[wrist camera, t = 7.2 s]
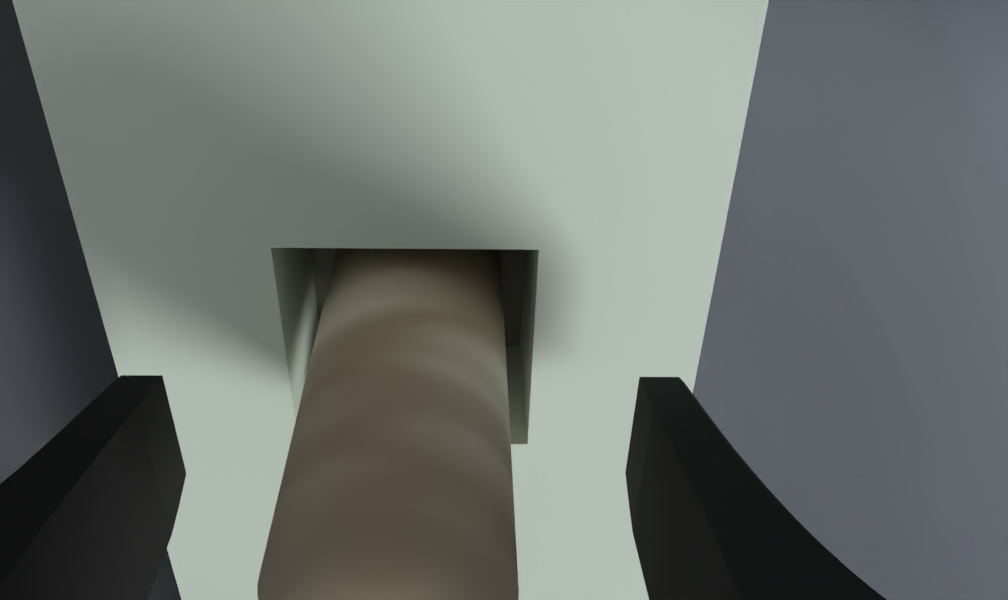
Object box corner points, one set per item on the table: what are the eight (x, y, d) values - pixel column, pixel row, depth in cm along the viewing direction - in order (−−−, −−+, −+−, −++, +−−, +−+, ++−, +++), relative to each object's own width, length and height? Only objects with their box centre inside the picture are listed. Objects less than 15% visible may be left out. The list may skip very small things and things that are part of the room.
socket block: (720, -123, 14) (783, -76, 11) (627, 489, 22) (650, 608, 19) (86, -139, 14) (-15, -95, 11) (222, 491, 22) (185, 613, 19)
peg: (506, 188, 17) (531, 514, 10) (493, 324, 18) (507, 676, 12) (335, 178, 16) (246, 506, 10) (340, 317, 18) (266, 672, 12)
